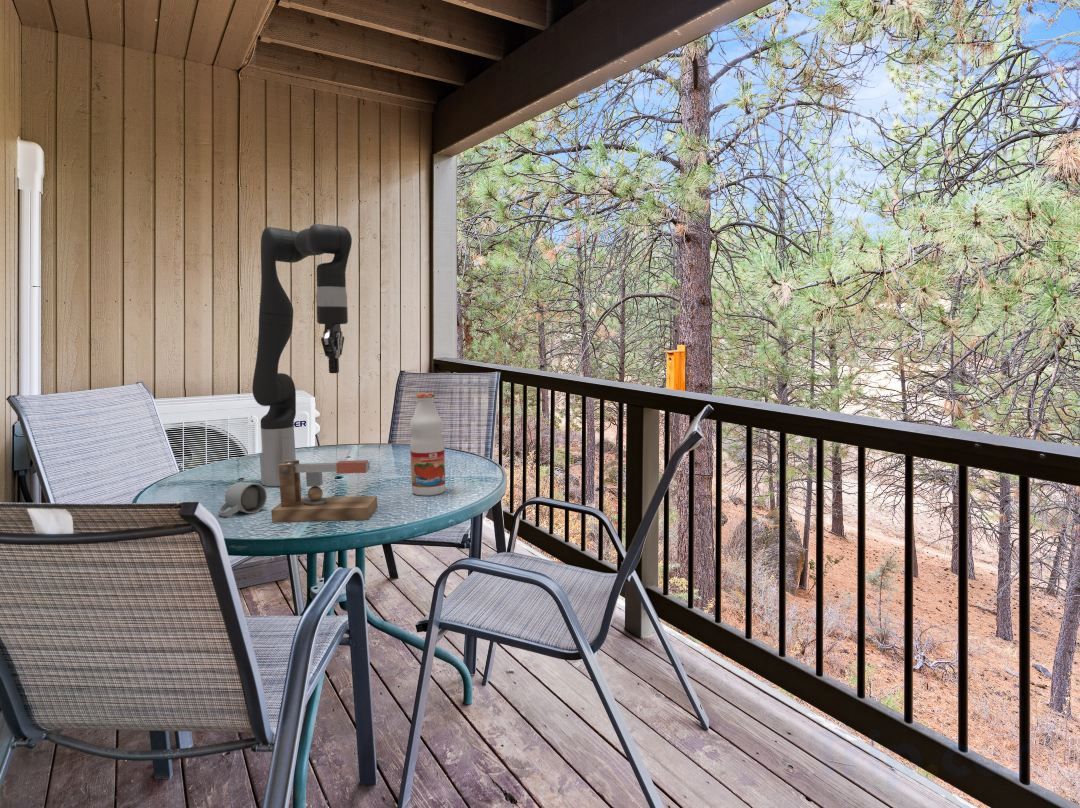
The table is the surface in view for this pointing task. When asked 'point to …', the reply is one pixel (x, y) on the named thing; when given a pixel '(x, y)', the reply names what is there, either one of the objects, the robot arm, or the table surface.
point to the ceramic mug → (243, 499)
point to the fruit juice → (427, 448)
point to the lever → (329, 469)
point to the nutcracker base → (316, 502)
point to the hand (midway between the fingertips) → (334, 372)
